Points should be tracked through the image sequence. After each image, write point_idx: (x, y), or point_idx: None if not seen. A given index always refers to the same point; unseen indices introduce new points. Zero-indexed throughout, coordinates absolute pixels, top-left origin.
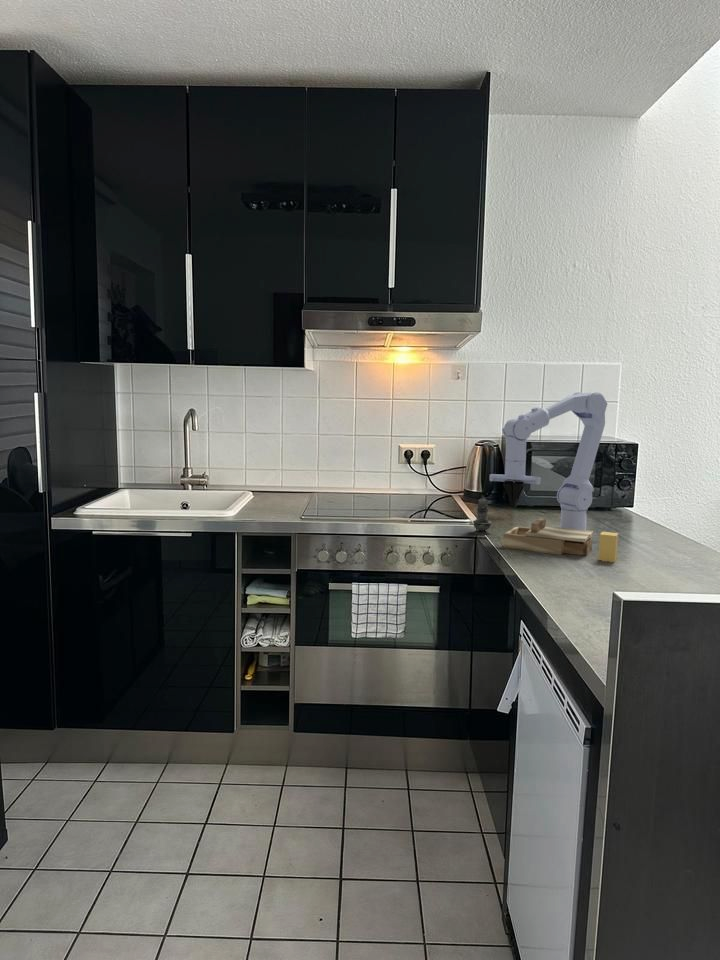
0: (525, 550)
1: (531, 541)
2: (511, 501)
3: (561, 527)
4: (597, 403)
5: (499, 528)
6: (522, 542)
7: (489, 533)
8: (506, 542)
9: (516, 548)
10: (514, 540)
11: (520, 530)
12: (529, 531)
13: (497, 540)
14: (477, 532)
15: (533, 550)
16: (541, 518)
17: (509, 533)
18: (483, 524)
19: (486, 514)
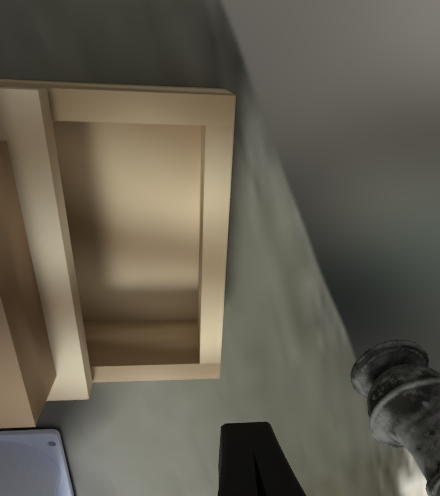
0: (73, 82)
1: (6, 83)
2: (271, 478)
3: (30, 494)
4: None
5: (326, 468)
6: (84, 86)
7: (354, 371)
8: (205, 89)
9: (134, 85)
10: (145, 88)
11: (188, 351)
12: (32, 168)
13: (295, 266)
14: (410, 350)
15: (15, 80)
16: (18, 417)
17: (204, 162)
18: (406, 383)
19: (422, 453)
